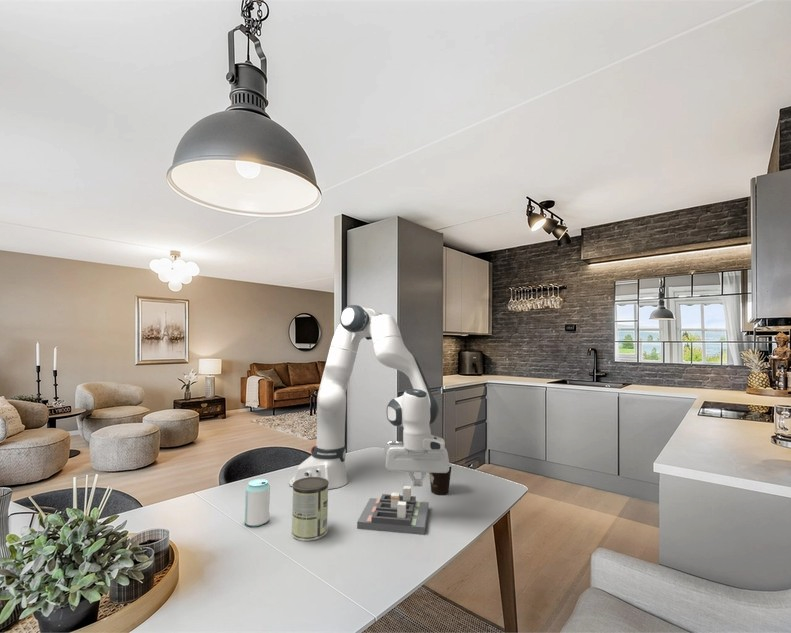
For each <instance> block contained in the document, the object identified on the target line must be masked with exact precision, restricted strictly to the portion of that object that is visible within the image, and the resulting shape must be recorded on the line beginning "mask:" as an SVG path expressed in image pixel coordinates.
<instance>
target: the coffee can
mask: <svg viewBox="0 0 791 633" xmlns="http://www.w3.org/2000/svg"><path fill="white" fill-rule="evenodd" d="M328 485H329V482H328V480H327V479H324V478H321V477H307V478H302V479H299V480H297V481H295V482H294V483H293V486H292V510H291V511H292V514H291V515H292V517H291V536H292V538H293V539H295V540H297V541H300V542H311V541H316V540H319V539H323V537H324V536H326V535H327V533H328V515H329V514H328V511H329V510H328V509H329V504H328V503H329V495H328V494H329V489H328Z"/></svg>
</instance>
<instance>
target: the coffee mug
mask: <svg viewBox="0 0 791 633" xmlns="http://www.w3.org/2000/svg"><path fill="white" fill-rule="evenodd" d="M451 473H452V464H451V462H449V471H448V472H447V473H428V474H429V481H430V482H429V483H430V491H431V493H432V494H434V495H437V496H446V495H448V494H449V490H450V484H451V482H450V481H451Z"/></svg>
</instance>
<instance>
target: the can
mask: <svg viewBox="0 0 791 633" xmlns="http://www.w3.org/2000/svg"><path fill="white" fill-rule="evenodd" d="M270 494H271V486H270V484H269V480H267V479H264V478H256V479H252V480H250V481H248V483H247V486H246V487H245V499H244V523H245V524H246V525H247V526H250V527H259V526H262V525H264V524H266V523H267V522H268V521H270V520H269V519H270V497H271V496H270Z"/></svg>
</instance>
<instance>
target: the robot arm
mask: <svg viewBox="0 0 791 633" xmlns="http://www.w3.org/2000/svg"><path fill="white" fill-rule="evenodd" d="M339 317H340V318H339V321H340V323H339V324H338V326H337V327H336V330H335V332H334V334H333V337H332V339H331V342H330V346H329V350H328V354H327V356H326V358H327V359H326V362H325V365H324V369H323V372H322V377H321V379H320V380H321V381H320V384H319V388H318V391H317V400H316V439H315V440H316V441H315V442H316V443H315V444H314V445H313V446H312V447H311V449H310V453H311V455H310V456H308V457H307V458H306V459H305V460H304V461H302V462H301V463H300V464H299V465H298V466H297V469H296V471H295V475H293V477H292V478H290V480H289V484H288V486H289V487H293V483H294V482H295V481H297V480H299V479H302V478H307V477H321V478H324V479H327V480H328V482H329V485H328V490H331V489H337V488H341V487H344V486H345V485H347V484H348V483H349V480H348V475H347V471H346V462H345V461H346V455H347V452H346V451H347V450H346V445H345V440H346V439H345V435H346V434H345V433H346V430H345V429H346V414H347V410H346V409H347V393H346V392H347V389H348V385H349V382H350V379H351V376H352V373H353V370H354V366H355V361H356V359H357V354H358V349H359V346H360V342H361V341H362V340H363V339H364V338H365V339H366V340H368V341H369V340H371V343H372V347H373V350H374V356H375V358H376V359H377V360H378V362H380V363H381V364H382V365H383V366H385V367H387V368H391V369H393V370H394V369H395V370H397V371H399V372H401V373H403V374H405V376H407V378H408V379H409V381H410V382H409V383H410V384H411V387H412V388H409V389H406V390H405V391H404V392H403V394H402V395H401V396H398V397H395V398H391V399H390V401H389V402H388V403H387V406H386V419H387V420H388V422H389V423H390V424H391V425H392V426H394V427H402V428H403V429H402V430H403V432H402V440H397V441H396V440H390V441H388V442H386V443H385V445H384V453H385V454H386V457H385V469H386V471H387V472H395V473H409V474H408V476H409V477H410V479H411V480H412V486H413V487H423V483H424V482H423V481H424V480H425V477H426V473H428V474H429V473H447V472H448V471H449V463H450V459H449V454H448V450H447V448H446V447H445V446H446V442H445V440H444V438H442V437H441V436H440V437H439V436H436V435H435V434H434V435H433V434H432V431H431V426H430V425H433V423H434V422H435V421H436V420H437V417H438V416H439V413H440V406H439V404H438V401H437V399H436V398H435V396H434V395H433V393H432V392H431V389H430V387H429V384H428V382H427V380H426V377H425V375H424V373H423V371H422V368H421V366H420V364H419V362H418V359H417V357H415V355H414V354H412V353H411V352H410V351H409V350H408V348H407V347H406V345H405V343H404V340H403V337H402V334H401V331H400V328H399V325H398V323H397V321H396V319H395V318H394V317H393V316H392V315H390V314H386V313H384V314H382V313H380V312H378V311H376V310H374V309H372V308H367V307H364V306H361V305H356V304H350V305H347V306H346V307H344V308H343V310H342V312H341V313H340V316H339ZM415 473H420V476H421V477H420V478H416V477H415V476H414V475H415Z"/></svg>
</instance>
